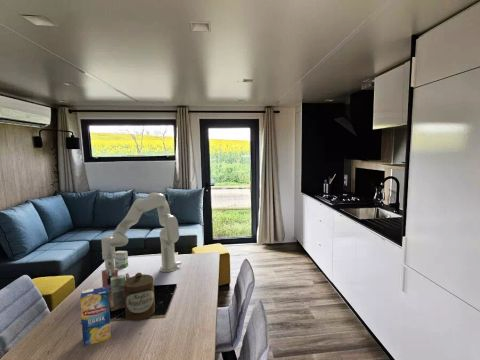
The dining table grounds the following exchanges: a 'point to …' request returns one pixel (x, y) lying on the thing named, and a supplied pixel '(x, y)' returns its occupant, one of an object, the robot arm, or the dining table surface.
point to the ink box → (121, 259)
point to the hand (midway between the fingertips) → (110, 282)
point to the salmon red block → (105, 277)
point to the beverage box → (95, 315)
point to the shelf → (117, 292)
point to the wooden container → (139, 297)
